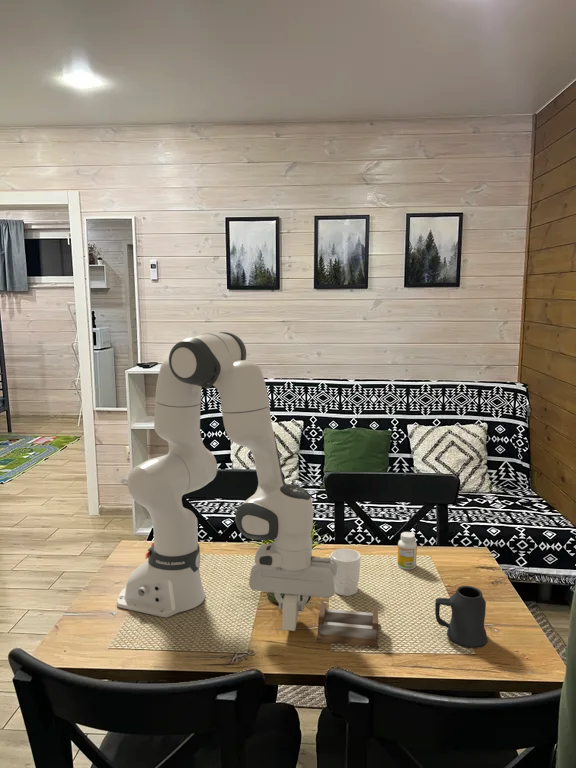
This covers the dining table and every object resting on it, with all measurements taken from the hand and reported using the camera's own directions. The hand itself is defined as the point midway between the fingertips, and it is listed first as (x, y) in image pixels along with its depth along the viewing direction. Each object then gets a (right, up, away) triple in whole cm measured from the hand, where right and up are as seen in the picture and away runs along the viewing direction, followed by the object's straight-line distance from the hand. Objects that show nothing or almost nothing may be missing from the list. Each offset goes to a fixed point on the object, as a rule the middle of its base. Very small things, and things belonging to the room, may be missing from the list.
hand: (291, 609), depth 137 cm
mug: (+40, -6, -2) cm, 40 cm away
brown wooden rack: (+13, -5, -1) cm, 14 cm away
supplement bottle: (+34, 0, +33) cm, 47 cm away
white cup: (+15, -2, +19) cm, 24 cm away
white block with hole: (0, -3, 0) cm, 3 cm away
